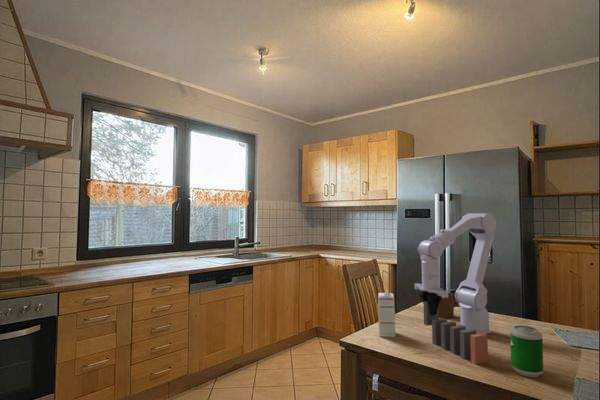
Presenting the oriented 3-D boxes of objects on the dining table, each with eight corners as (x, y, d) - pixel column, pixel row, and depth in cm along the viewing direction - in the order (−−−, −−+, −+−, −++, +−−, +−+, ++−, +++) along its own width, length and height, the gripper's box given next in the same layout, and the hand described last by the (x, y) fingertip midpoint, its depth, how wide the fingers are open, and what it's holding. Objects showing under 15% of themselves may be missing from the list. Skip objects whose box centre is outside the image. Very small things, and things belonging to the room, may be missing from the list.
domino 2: (444, 341, 122) (443, 317, 122) (447, 342, 121) (447, 319, 121) (432, 343, 120) (432, 319, 120) (435, 345, 119) (435, 321, 119)
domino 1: (435, 322, 126) (435, 299, 126) (438, 324, 124) (438, 301, 125) (423, 324, 124) (423, 301, 124) (427, 325, 123) (426, 302, 123)
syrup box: (395, 337, 126) (395, 296, 126) (378, 336, 127) (378, 295, 127) (394, 332, 131) (394, 292, 132) (378, 331, 133) (377, 292, 133)
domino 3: (452, 345, 118) (452, 321, 119) (456, 347, 117) (456, 322, 117) (441, 347, 117) (440, 323, 117) (444, 349, 115) (444, 324, 115)
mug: (458, 313, 154) (458, 291, 154) (467, 318, 147) (467, 295, 147) (431, 313, 154) (431, 291, 154) (439, 319, 146) (438, 296, 146)
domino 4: (462, 349, 115) (461, 324, 115) (466, 351, 113) (465, 326, 113) (450, 352, 113) (449, 326, 113) (454, 354, 111) (453, 328, 112)
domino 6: (483, 359, 107) (482, 332, 107) (487, 361, 106) (487, 334, 106) (470, 362, 105) (470, 335, 106) (475, 364, 104) (474, 337, 104)
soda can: (550, 376, 96) (548, 331, 97) (530, 380, 94) (528, 335, 94) (524, 364, 103) (523, 323, 104) (504, 368, 101) (503, 326, 101)
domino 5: (472, 354, 111) (471, 328, 111) (476, 356, 109) (476, 330, 110) (460, 357, 109) (459, 330, 109) (464, 359, 108) (463, 332, 108)
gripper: (407, 272, 130) (408, 309, 130) (436, 279, 116) (437, 321, 116) (423, 270, 133) (423, 307, 132) (452, 277, 119) (453, 318, 119)
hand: (431, 313), depth 124 cm, fingers closed on domino 1, 1 cm apart
